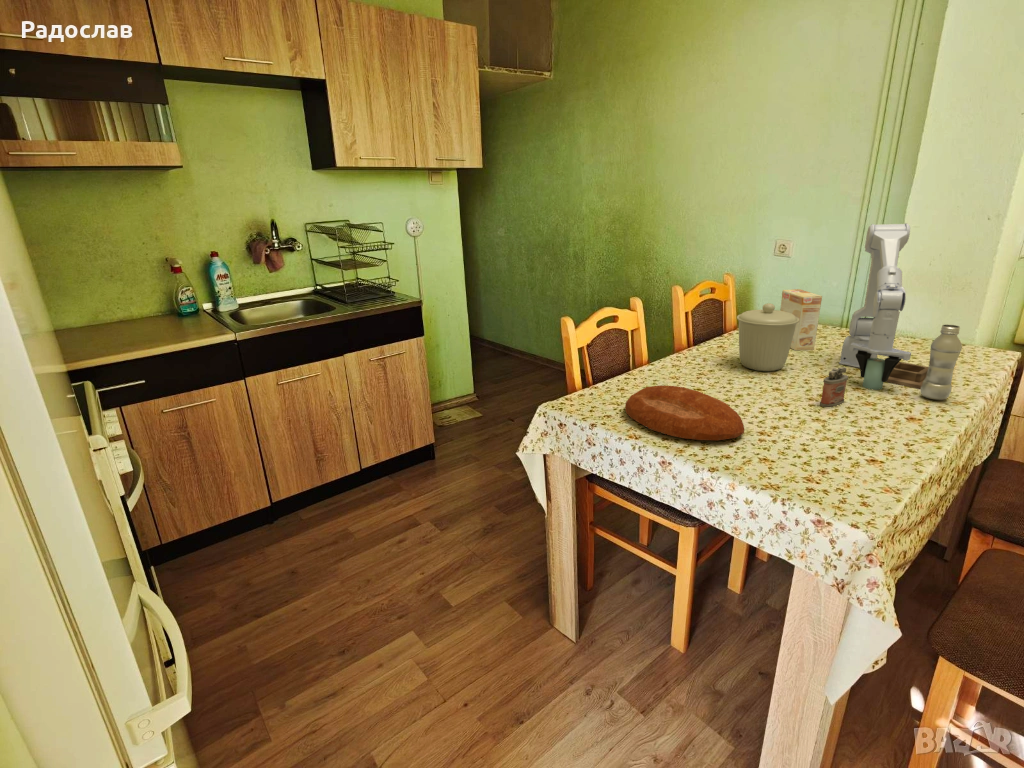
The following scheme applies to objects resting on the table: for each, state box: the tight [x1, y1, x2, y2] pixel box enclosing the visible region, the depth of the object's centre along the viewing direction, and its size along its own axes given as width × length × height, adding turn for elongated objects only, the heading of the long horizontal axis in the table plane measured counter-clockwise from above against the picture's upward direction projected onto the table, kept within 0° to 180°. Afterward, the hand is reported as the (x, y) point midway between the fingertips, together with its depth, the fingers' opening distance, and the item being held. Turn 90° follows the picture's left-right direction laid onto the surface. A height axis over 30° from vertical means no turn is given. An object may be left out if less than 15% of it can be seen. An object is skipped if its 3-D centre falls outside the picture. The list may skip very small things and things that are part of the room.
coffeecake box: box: [779, 288, 823, 351], centre depth 191 cm, size 15×7×20 cm, turn 179°
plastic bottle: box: [920, 324, 963, 401], centre depth 138 cm, size 6×7×20 cm
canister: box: [736, 302, 799, 372], centre depth 169 cm, size 18×18×21 cm
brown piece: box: [885, 361, 929, 390], centre depth 155 cm, size 14×14×4 cm
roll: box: [862, 357, 885, 391], centre depth 150 cm, size 5×5×8 cm
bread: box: [624, 384, 745, 442], centre depth 133 cm, size 23×32×9 cm
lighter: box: [819, 366, 849, 408], centre depth 139 cm, size 8×3×10 cm, turn 117°
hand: (873, 378), depth 150 cm, fingers closed on roll, 5 cm apart
